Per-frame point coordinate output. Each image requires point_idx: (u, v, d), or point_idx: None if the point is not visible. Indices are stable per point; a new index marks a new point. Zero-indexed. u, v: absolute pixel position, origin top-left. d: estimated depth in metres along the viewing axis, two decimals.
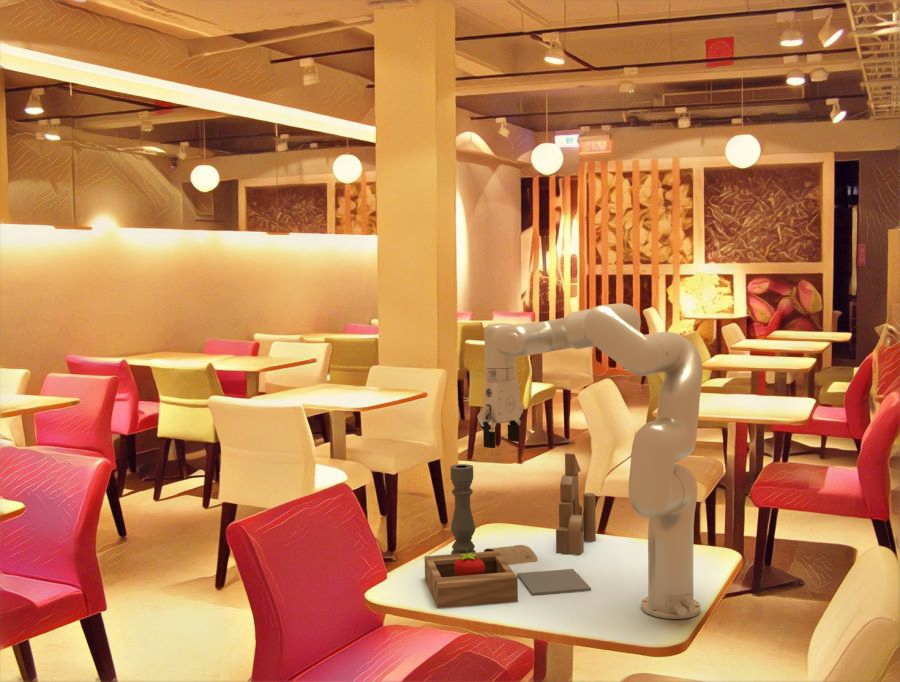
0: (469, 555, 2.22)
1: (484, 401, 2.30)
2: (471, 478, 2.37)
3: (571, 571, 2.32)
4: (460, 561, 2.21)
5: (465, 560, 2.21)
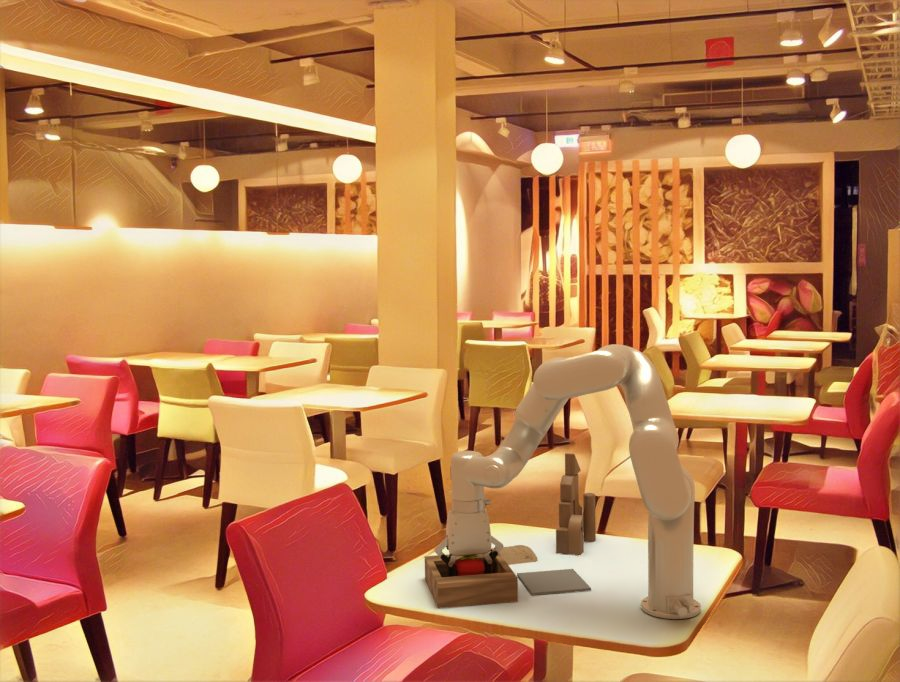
0: (469, 555, 2.22)
1: None
2: None
3: (571, 571, 2.32)
4: (460, 561, 2.21)
5: (465, 560, 2.21)
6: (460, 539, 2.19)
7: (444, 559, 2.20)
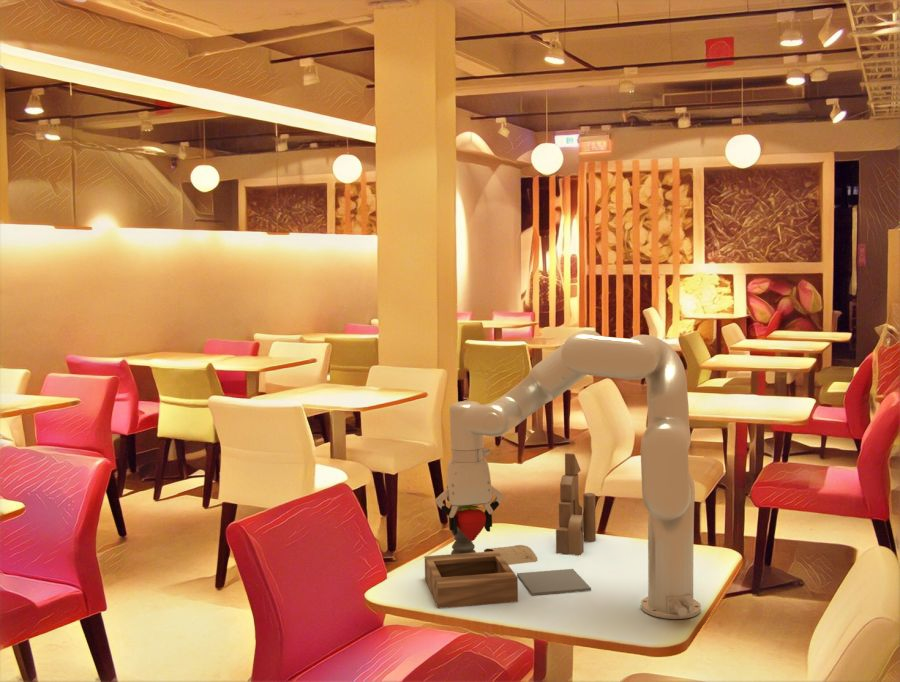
0: (470, 506, 2.21)
1: (490, 481, 2.20)
2: None
3: (571, 571, 2.32)
4: (461, 512, 2.20)
5: (466, 511, 2.19)
6: (460, 490, 2.17)
7: (445, 510, 2.19)
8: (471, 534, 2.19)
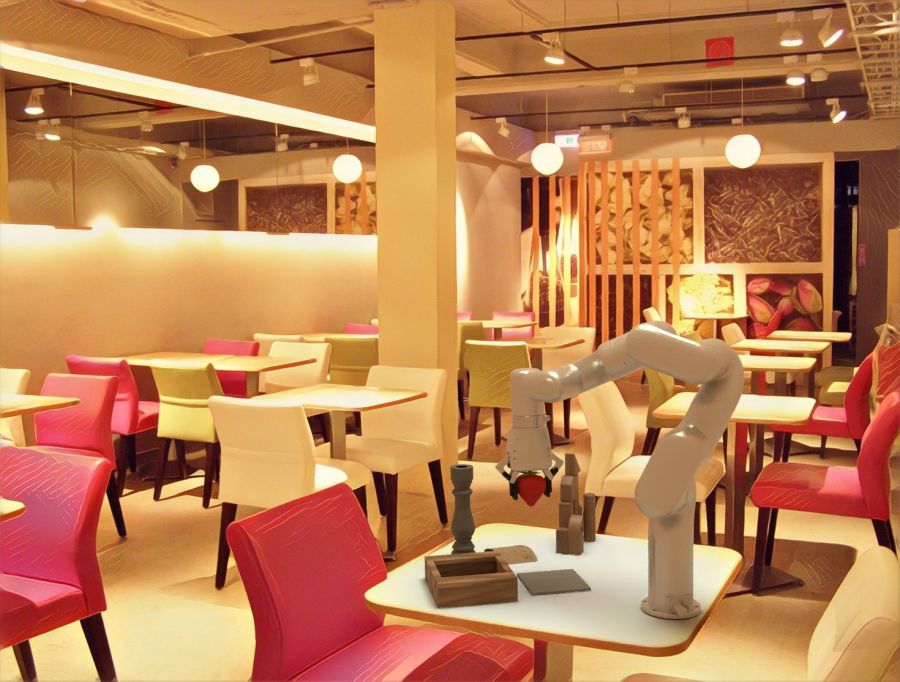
0: (529, 472, 2.23)
1: (550, 446, 2.21)
2: (471, 478, 2.37)
3: (571, 571, 2.32)
4: (521, 478, 2.21)
5: (526, 476, 2.21)
6: (521, 455, 2.19)
7: (506, 476, 2.20)
8: (531, 500, 2.21)
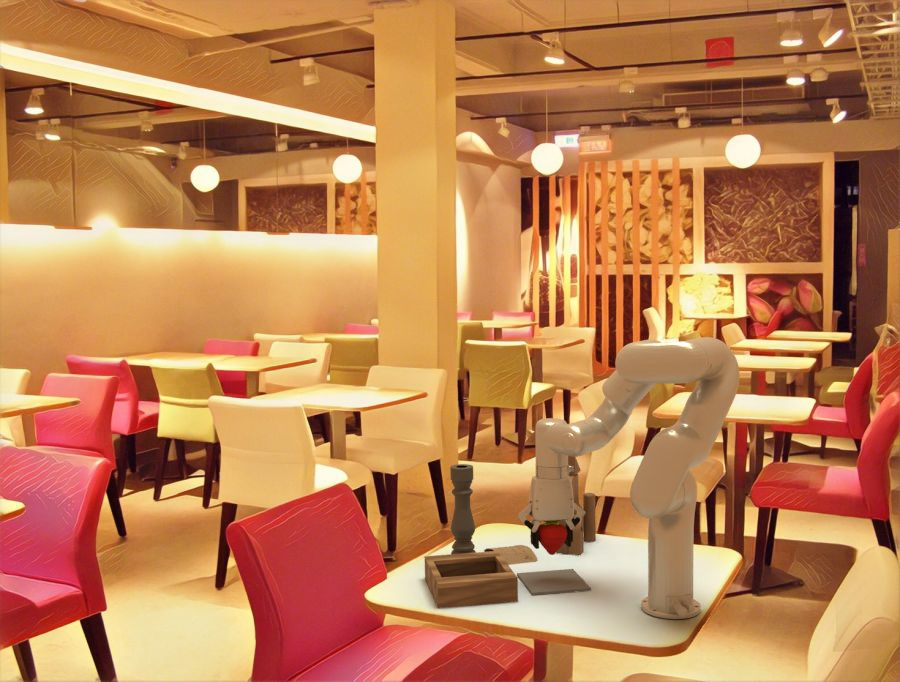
0: (551, 521, 2.25)
1: None
2: (471, 478, 2.37)
3: (571, 571, 2.32)
4: (543, 526, 2.24)
5: (548, 526, 2.23)
6: (544, 505, 2.21)
7: (528, 524, 2.23)
8: (552, 549, 2.24)
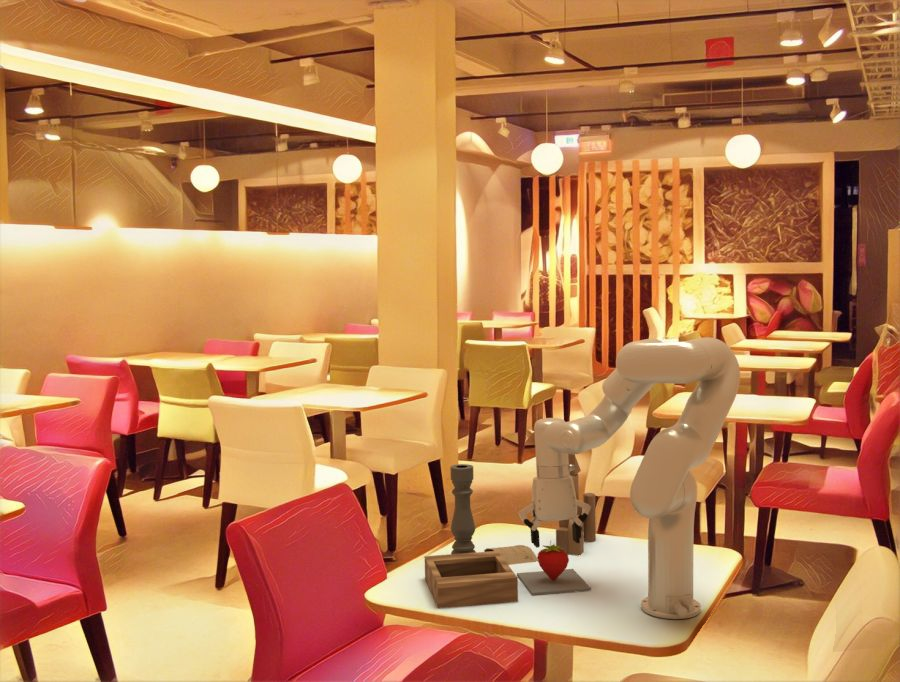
0: (553, 547, 2.25)
1: (575, 496, 2.23)
2: (471, 478, 2.37)
3: (571, 571, 2.32)
4: (544, 553, 2.24)
5: (549, 552, 2.23)
6: (546, 505, 2.21)
7: (527, 523, 2.22)
8: (554, 575, 2.24)
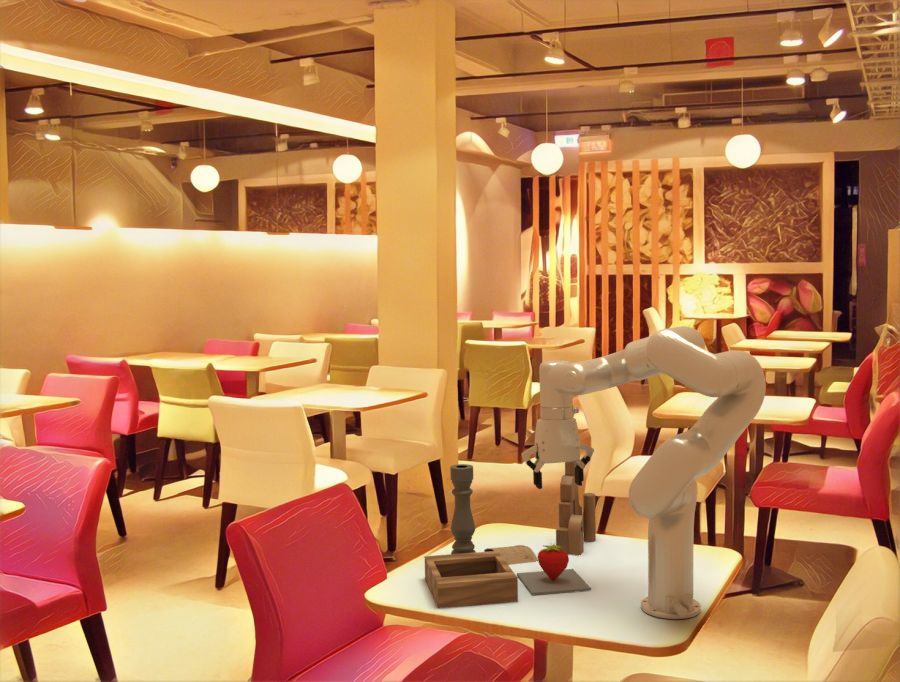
0: (553, 546, 2.25)
1: None
2: (471, 478, 2.37)
3: (571, 571, 2.32)
4: (545, 552, 2.24)
5: (549, 551, 2.24)
6: (550, 447, 2.20)
7: (530, 465, 2.21)
8: (554, 574, 2.24)
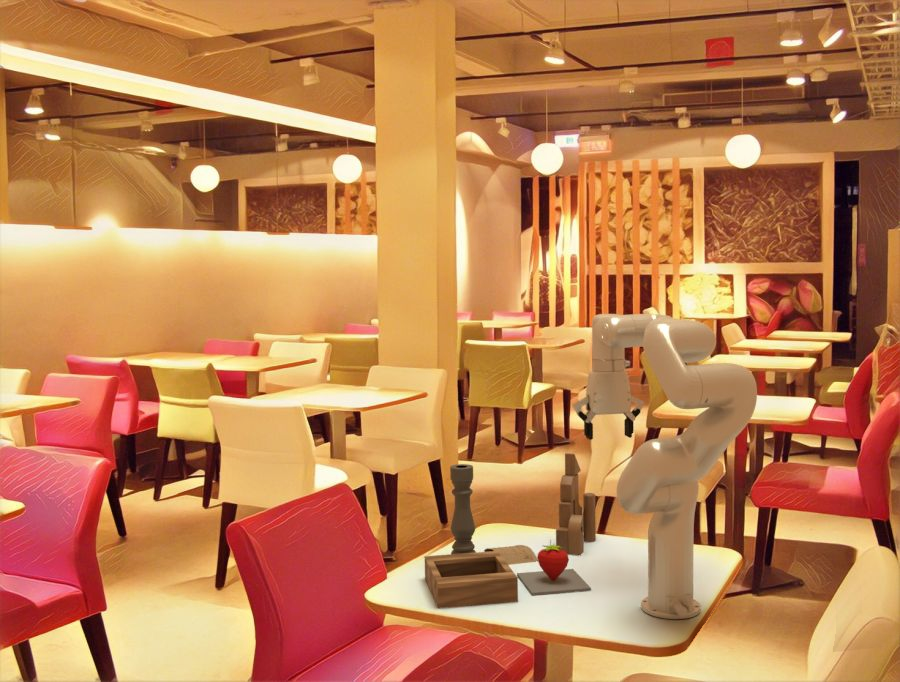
0: (553, 546, 2.25)
1: None
2: (471, 478, 2.37)
3: (571, 571, 2.32)
4: (544, 552, 2.24)
5: (549, 551, 2.24)
6: (601, 398, 2.25)
7: (582, 415, 2.26)
8: (554, 574, 2.24)
